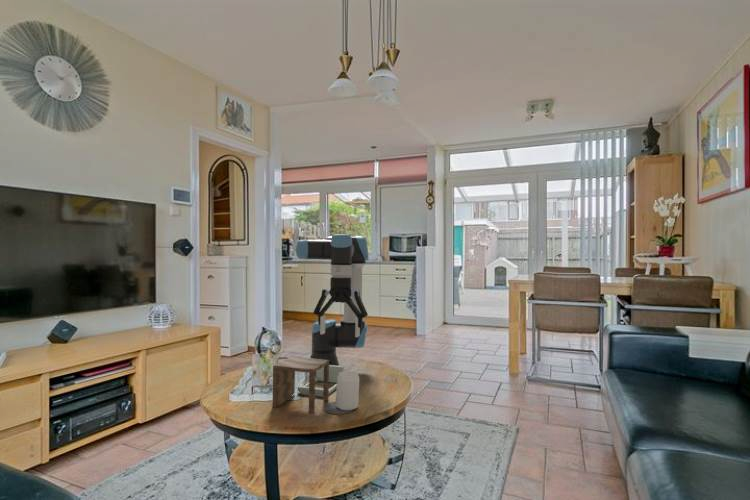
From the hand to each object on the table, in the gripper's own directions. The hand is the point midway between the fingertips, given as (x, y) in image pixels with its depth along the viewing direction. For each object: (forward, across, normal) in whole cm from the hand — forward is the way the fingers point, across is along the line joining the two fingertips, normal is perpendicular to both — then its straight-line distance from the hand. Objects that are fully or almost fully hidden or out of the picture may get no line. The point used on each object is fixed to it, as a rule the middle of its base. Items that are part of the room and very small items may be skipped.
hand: (339, 335), depth 150 cm
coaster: (+27, 0, 0) cm, 27 cm away
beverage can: (+26, +3, +1) cm, 26 cm away
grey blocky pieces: (+26, -15, +19) cm, 36 cm away
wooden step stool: (+27, -15, +1) cm, 31 cm away
